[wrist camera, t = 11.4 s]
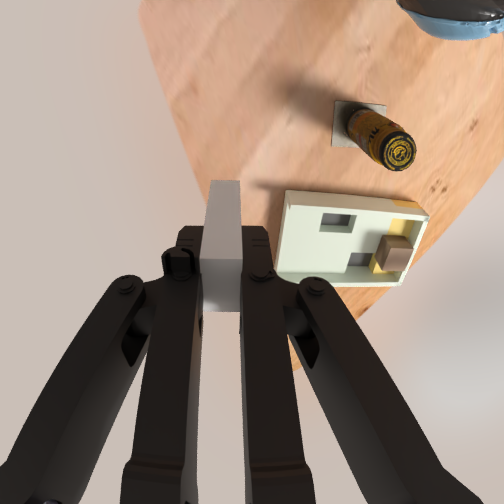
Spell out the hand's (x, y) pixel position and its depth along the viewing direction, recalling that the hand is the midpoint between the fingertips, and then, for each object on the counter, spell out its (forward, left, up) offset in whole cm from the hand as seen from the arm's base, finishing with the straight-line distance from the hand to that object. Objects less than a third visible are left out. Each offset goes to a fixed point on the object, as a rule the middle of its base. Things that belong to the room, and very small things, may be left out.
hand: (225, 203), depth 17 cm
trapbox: (+21, +22, -29) cm, 42 cm away
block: (+21, +30, -27) cm, 45 cm away
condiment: (+1, +19, -29) cm, 35 cm away
